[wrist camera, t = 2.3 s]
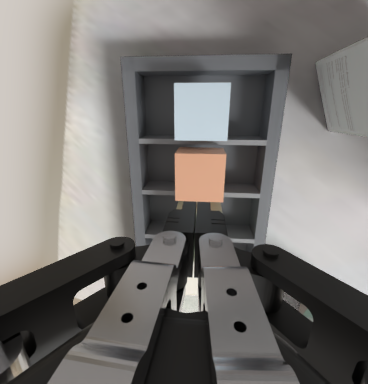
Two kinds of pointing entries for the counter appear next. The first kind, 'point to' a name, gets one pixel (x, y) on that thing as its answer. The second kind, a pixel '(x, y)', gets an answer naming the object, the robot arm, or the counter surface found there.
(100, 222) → the counter surface
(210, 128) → the pale blue cube
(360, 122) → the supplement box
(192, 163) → the orange cube
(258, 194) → the grey compartment tray
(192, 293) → the cream cube
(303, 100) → the counter surface
